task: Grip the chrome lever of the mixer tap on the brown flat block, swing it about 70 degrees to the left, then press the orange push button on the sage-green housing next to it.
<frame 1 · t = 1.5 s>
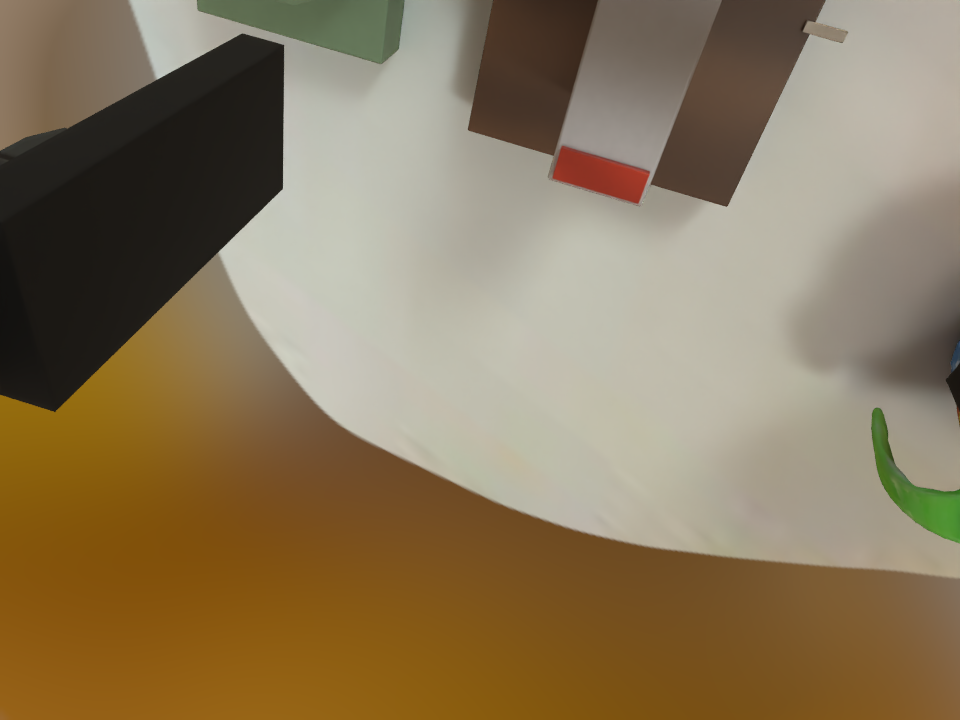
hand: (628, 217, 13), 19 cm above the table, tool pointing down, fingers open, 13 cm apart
tap lever: (651, 10, 22), point 6 cm above the table, hinge at 0.0°
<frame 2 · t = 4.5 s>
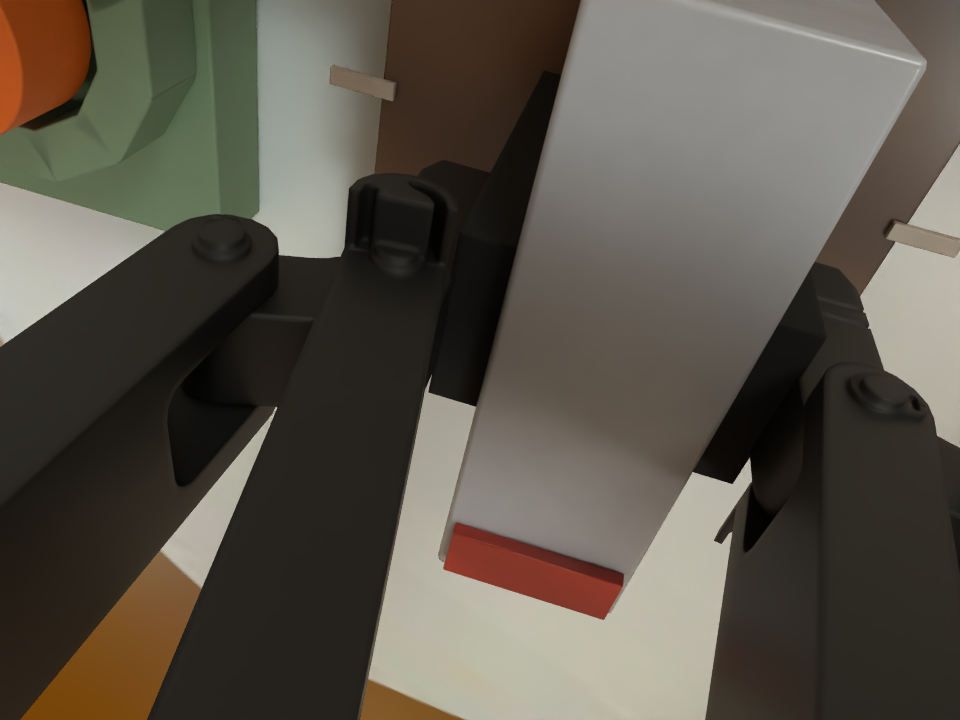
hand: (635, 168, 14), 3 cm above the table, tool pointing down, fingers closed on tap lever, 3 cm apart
tap lever: (623, 251, 12), point 6 cm above the table, hinge at 0.0°, touching gripper
brown flat block: (643, 115, 17), on the table
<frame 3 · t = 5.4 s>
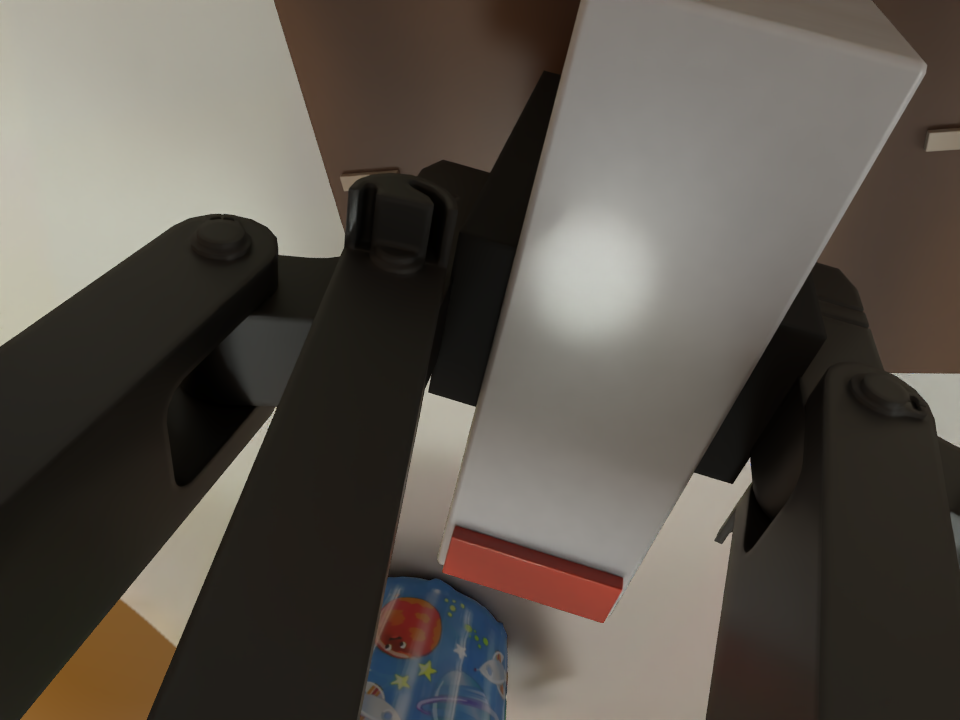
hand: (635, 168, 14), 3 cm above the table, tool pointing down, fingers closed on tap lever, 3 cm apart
tap lever: (623, 254, 12), point 6 cm above the table, hinge at 69.3°, touching gripper
snack cup: (429, 615, 32), on the table
brown flat block: (643, 117, 17), on the table
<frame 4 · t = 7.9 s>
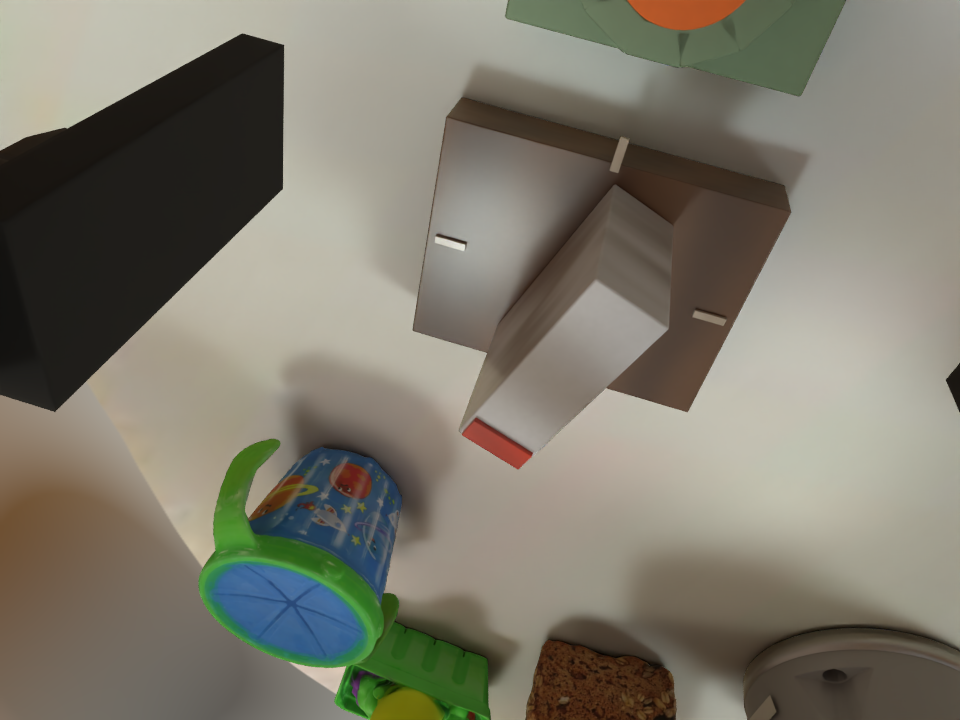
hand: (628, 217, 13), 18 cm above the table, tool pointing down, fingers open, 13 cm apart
bread: (594, 706, 58), on the table
tap lever: (566, 328, 29), point 6 cm above the table, hinge at 69.3°
snack cup: (351, 481, 48), on the table
brown flat block: (585, 251, 34), on the table
fruit basket: (430, 646, 58), on the table
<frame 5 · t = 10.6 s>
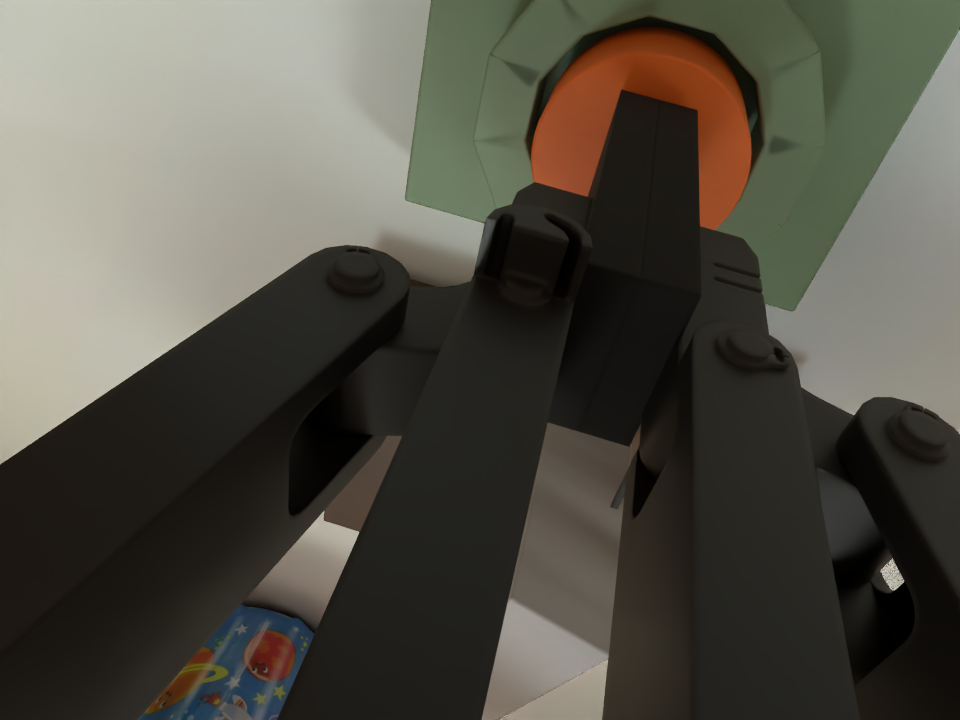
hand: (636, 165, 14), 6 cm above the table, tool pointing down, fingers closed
tap lever: (494, 578, 22), point 6 cm above the table, hinge at 69.3°
snack cup: (280, 635, 42), on the table
brown flat block: (529, 437, 27), on the table
button housing: (648, 86, 19), on the table
button: (639, 147, 15), point 4 cm above the table, slide at -0.3 cm, touching gripper
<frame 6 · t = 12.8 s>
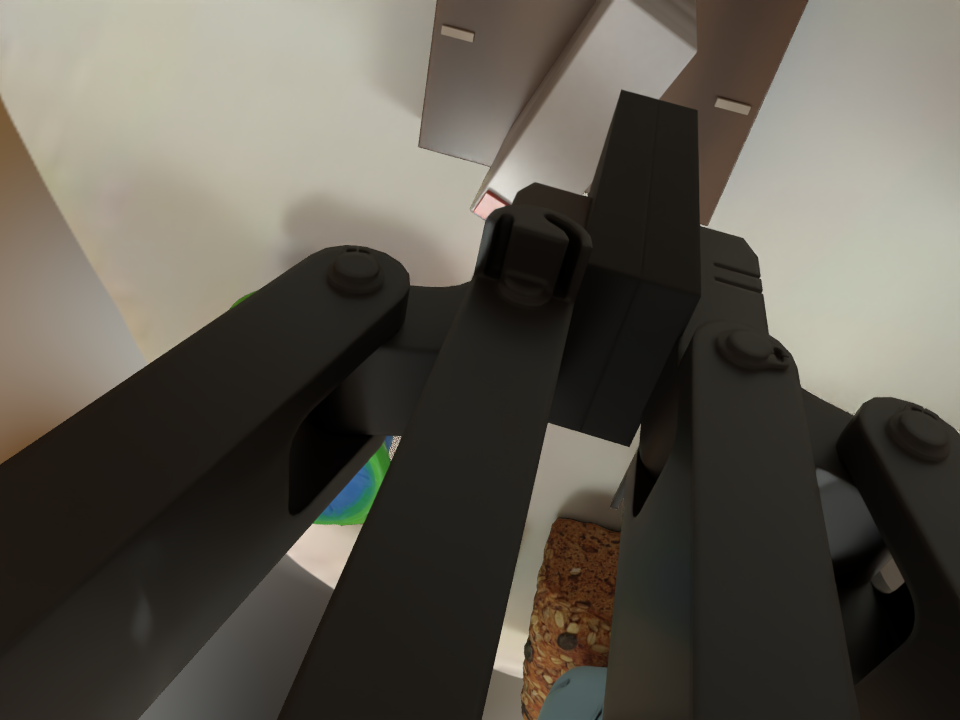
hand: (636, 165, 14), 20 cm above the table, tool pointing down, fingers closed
bread: (604, 592, 57), on the table
tap lever: (583, 101, 27), point 6 cm above the table, hinge at 69.3°
snack cup: (356, 347, 47), on the table
brown flat block: (599, 50, 32), on the table
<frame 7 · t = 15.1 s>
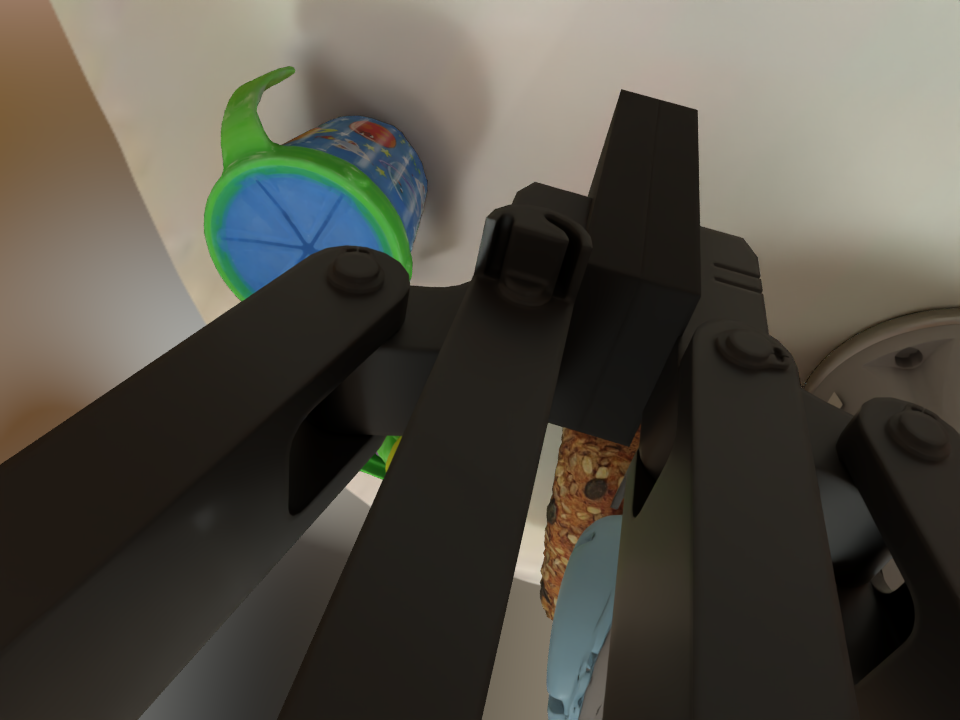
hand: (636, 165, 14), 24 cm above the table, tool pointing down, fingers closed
bread: (629, 471, 54), on the table
snack cup: (371, 172, 44), on the table
fruit basket: (453, 407, 54), on the table
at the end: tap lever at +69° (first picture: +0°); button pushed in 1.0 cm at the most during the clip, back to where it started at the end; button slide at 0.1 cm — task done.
